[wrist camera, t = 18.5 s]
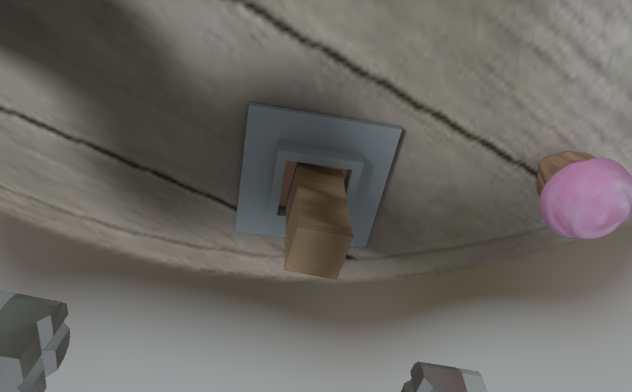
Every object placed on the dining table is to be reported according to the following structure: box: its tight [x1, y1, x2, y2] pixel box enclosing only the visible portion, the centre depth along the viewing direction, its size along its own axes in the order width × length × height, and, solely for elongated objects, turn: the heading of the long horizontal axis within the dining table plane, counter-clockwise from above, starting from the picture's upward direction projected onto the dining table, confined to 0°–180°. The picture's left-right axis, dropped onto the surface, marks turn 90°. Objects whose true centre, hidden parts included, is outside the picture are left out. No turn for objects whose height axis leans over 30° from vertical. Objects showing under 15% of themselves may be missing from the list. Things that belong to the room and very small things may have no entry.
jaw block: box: [284, 162, 353, 280], centre depth 46 cm, size 5×5×12 cm
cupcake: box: [537, 151, 632, 240], centre depth 48 cm, size 9×9×10 cm
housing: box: [235, 102, 402, 248], centre depth 50 cm, size 16×16×3 cm
